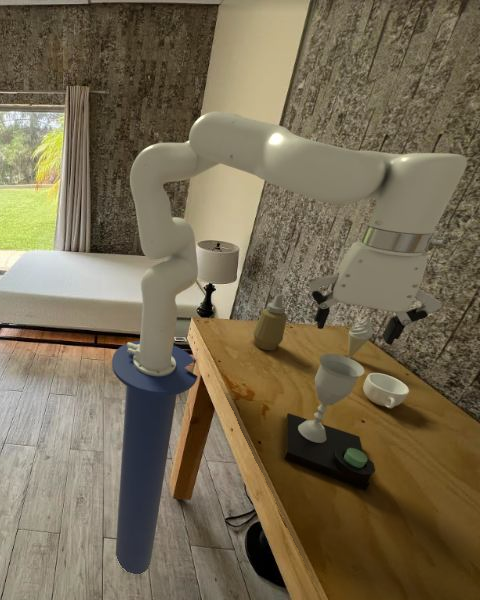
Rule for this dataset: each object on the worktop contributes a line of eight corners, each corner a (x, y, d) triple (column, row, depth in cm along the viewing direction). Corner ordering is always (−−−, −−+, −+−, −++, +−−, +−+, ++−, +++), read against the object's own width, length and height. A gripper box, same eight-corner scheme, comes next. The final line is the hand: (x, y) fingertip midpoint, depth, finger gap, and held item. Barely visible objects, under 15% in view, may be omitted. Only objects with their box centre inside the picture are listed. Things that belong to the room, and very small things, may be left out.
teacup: (355, 385, 84) (363, 369, 81) (393, 395, 80) (402, 378, 78) (365, 411, 76) (374, 393, 73) (408, 422, 72) (418, 404, 70)
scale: (284, 460, 64) (289, 447, 62) (285, 419, 74) (289, 406, 72) (369, 494, 58) (378, 479, 56) (358, 444, 67) (365, 431, 66)
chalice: (301, 415, 72) (327, 349, 64) (337, 434, 67) (370, 366, 59) (287, 430, 68) (312, 362, 60) (323, 452, 63) (356, 381, 55)
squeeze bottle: (279, 355, 96) (296, 302, 88) (249, 348, 100) (263, 296, 92) (279, 342, 102) (295, 292, 94) (251, 336, 106) (264, 287, 98)
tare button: (344, 463, 59) (348, 457, 59) (342, 451, 62) (346, 445, 61) (365, 471, 58) (369, 464, 57) (362, 458, 60) (366, 452, 59)
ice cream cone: (361, 365, 91) (382, 320, 85) (340, 360, 94) (358, 315, 87) (358, 356, 95) (377, 312, 89) (337, 351, 98) (355, 308, 91)
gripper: (462, 242, 48) (409, 336, 56) (324, 228, 56) (295, 312, 64) (485, 255, 42) (423, 358, 50) (328, 237, 50) (295, 329, 58)
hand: (351, 332), depth 57 cm, fingers open, 9 cm apart
